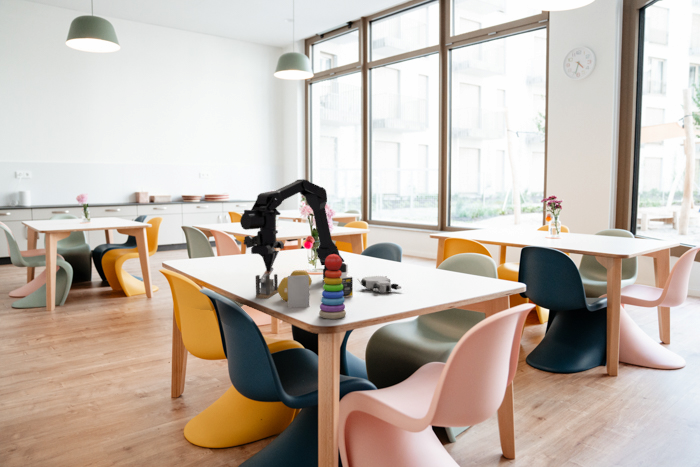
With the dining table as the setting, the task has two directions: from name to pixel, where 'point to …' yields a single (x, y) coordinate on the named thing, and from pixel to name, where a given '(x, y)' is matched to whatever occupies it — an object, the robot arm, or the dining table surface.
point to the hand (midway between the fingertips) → (268, 270)
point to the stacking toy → (332, 290)
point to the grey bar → (263, 278)
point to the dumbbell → (283, 284)
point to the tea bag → (298, 291)
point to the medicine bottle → (346, 281)
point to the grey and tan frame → (266, 287)
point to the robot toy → (378, 284)
